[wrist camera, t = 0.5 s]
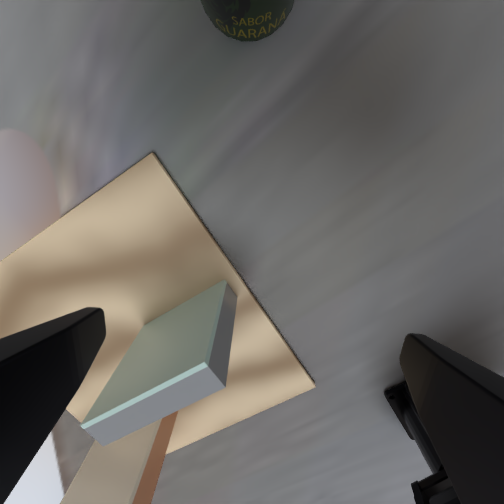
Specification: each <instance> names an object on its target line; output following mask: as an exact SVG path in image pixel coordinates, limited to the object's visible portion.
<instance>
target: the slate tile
mask: <svg viewBox="0 0 504 504" xmlns="http://www.w3.org/2000/svg"><path fill="white" fill-rule="evenodd" d="M237 298H238V297H237V296H236V294H235V293H234V291H233V290H232V289H231V287H230V286H229V284H228V283H227V282H226V280H225V279H224V280H222V281H221V282H219V283H217V284H215V285H214V286H212V287H210V288H208V289H207V290H205V291H203V292H201V293H200V294H198V295H196V296H194V297H193V298H191V299H189V300H187V301H186V302H184V303H182V304H180V305H179V306H177V307H175V308H173V309H172V310H170V311H168V312H166V313H165V314H163V315H161V316H159V317H158V318H156V319H154V320H152V321H151V322H149V323H147V324H145V325H144V326H143V327H142V328H141V330H140V332H139V333H138V335H137V336H136V338H135V340H134V341H133V343H132V344H131V346H130V347H129V349H128V351H127V352H126V354H125V355H124V357H123V359H122V360H121V362H120V363H119V365H118V366H117V368H116V370H115V371H114V373H113V374H112V376H111V377H110V379H109V381H108V382H107V384H106V385H105V387H104V389H103V390H102V392H101V393H100V395H99V396H98V398H97V400H96V401H95V403H94V404H93V406H92V408H91V409H90V411H89V412H88V414H87V415H86V417H85V419H84V420H83V422H82V423H81V425H80V426H81V427H82V428H83V429H84V430H85V431H86V432H88V433H89V434H90V435H91V436H92V437H93V438H94V439H95V440H96V441H98V442H99V443H100V444H101V445H102V446H105V445H108V444H110V443H112V442H114V441H116V440H118V439H120V438H122V437H124V436H126V435H128V434H130V433H132V432H134V431H137V430H139V429H141V428H143V427H145V426H147V425H149V424H151V423H153V422H155V421H157V420H159V419H161V418H164V417H166V416H168V415H170V414H172V413H174V412H176V411H178V410H180V409H182V408H184V407H186V406H188V405H190V404H193V403H195V402H197V401H199V400H201V399H203V398H205V397H207V396H209V395H211V394H213V393H215V392H217V391H219V390H222V389H224V388H226V381H227V374H228V366H229V358H230V351H231V343H232V336H233V328H234V320H235V313H236V305H237Z"/></svg>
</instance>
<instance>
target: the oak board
mask: <svg viewBox="0 0 504 504" xmlns="http://www.w3.org/2000/svg"><path fill="white" fill-rule="evenodd" d="M224 279H225V280H226V282H227V283H228V284H229V286H230V287H231V289H232V290H233V291H234V293H235V294H236V296H237V297H238V298H237V305H236V313H235V320H234V328H233V336H232V343H231V351H230V358H229V366H228V374H227V381H226V388H224V389H222V390H219V391H217V392H215V393H213V394H211V395H209V396H207V397H205V398H203V399H201V400H199V401H197V402H195V403H193V404H190V405H188V406H186V407H184V408H182V409H180V410H179V411H178V414H177V417H176V421H175V424H174V427H173V431H172V434H171V438H170V441H169V444H168V448H167V451H166V454H168V453H170V452H173V451H175V450H177V449H179V448H182V447H184V446H186V445H188V444H190V443H193V442H195V441H197V440H199V439H202V438H204V437H206V436H208V435H210V434H213V433H215V432H217V431H219V430H222V429H224V428H226V427H228V426H230V425H233V424H235V423H237V422H239V421H242V420H244V419H246V418H248V417H250V416H253V415H255V414H257V413H259V412H262V411H264V410H266V409H268V408H270V407H273V406H275V405H277V404H279V403H282V402H284V401H286V400H288V399H290V398H293V397H295V396H297V395H299V394H302V393H304V392H306V391H308V390H311V389H313V388H315V387H316V386H315V383H314V382H313V380H312V379H311V377H310V376H309V374H308V373H307V372H306V370H305V369H304V367H303V366H302V364H301V363H300V362H299V360H298V359H297V357H296V356H295V354H294V353H293V352H292V350H291V349H290V347H289V346H288V344H287V343H286V342H285V340H284V339H283V337H282V336H281V334H280V333H279V332H278V330H277V329H276V327H275V326H274V324H273V323H272V321H271V320H270V319H269V317H268V316H267V314H266V313H265V311H264V310H263V309H262V307H261V306H260V304H259V303H258V301H257V300H256V299H255V297H254V296H253V294H252V293H251V291H250V290H249V289H248V287H247V286H246V284H245V283H244V281H243V280H242V279H241V277H240V276H239V274H238V273H237V271H236V270H235V269H234V267H233V266H232V264H231V263H230V261H229V260H228V258H227V257H226V256H225V254H224V253H223V251H222V250H221V248H220V247H219V246H218V244H217V243H216V241H215V240H214V238H213V237H212V236H211V234H210V233H209V231H208V230H207V228H206V227H205V226H204V224H203V223H202V221H201V220H200V218H199V217H198V216H197V214H196V213H195V211H194V210H193V208H192V207H191V206H190V204H189V203H188V201H187V200H186V198H185V197H184V195H183V194H182V193H181V191H180V190H179V188H178V187H177V185H176V184H175V183H174V181H173V180H172V178H171V177H170V175H169V174H168V173H167V171H166V170H165V168H164V167H163V165H162V164H161V163H160V161H159V160H158V158H157V157H156V155H155V154H154V153H151V154H149V155H148V156H147V157H145V158H144V159H142V160H141V161H140V162H138V163H137V164H135V165H134V166H133V167H131V168H130V169H128V170H127V171H126V172H124V173H123V174H121V175H120V176H119V177H117V178H116V179H114V180H113V181H112V182H110V183H109V184H107V185H106V186H105V187H103V188H102V189H101V190H99V191H98V192H96V193H95V194H94V195H92V196H91V197H89V198H88V199H87V200H85V201H84V202H82V203H81V204H80V205H78V206H77V207H75V208H74V209H73V210H71V211H70V212H68V213H67V214H66V215H64V216H63V217H61V218H60V219H59V220H57V221H56V222H55V223H53V224H52V225H50V226H49V227H48V228H46V229H45V230H44V231H42V232H41V233H39V234H38V235H36V236H35V237H34V238H32V239H31V240H30V241H28V242H27V243H25V244H24V245H23V246H21V247H20V248H18V249H17V250H15V251H14V252H13V253H12V254H10V255H9V256H7V257H6V258H4V259H3V260H2V261H0V338H3V337H6V336H9V335H11V334H14V333H17V332H20V331H22V330H25V329H28V328H31V327H33V326H36V325H39V324H42V323H44V322H47V321H50V320H53V319H55V318H58V317H61V316H64V315H66V314H69V313H72V312H75V311H77V310H80V309H83V308H86V307H98V308H102V309H103V311H104V315H105V324H106V337H105V340H104V342H103V344H102V346H101V348H100V350H99V352H98V354H97V356H96V358H95V359H94V361H93V363H92V365H91V367H90V369H89V371H88V373H87V375H86V377H85V379H84V380H83V382H82V384H81V386H80V387H79V389H78V391H77V392H76V394H75V395H74V397H73V398H72V400H71V401H70V403H69V405H68V406H67V408H66V409H67V410H68V411H69V412H70V413H71V414H72V415H73V416H74V417H75V418H76V419H78V420H79V421H80V422H81V423H82V422H83V420H84V419H85V417H86V415H87V414H88V412H89V411H90V409H91V408H92V406H93V404H94V403H95V401H96V400H97V398H98V396H99V395H100V393H101V392H102V390H103V389H104V387H105V385H106V384H107V382H108V381H109V379H110V377H111V376H112V374H113V373H114V371H115V370H116V368H117V366H118V365H119V363H120V362H121V360H122V359H123V357H124V355H125V354H126V352H127V351H128V349H129V347H130V346H131V344H132V343H133V341H134V340H135V338H136V336H137V335H138V333H139V332H140V330H141V328H142V327H143V326H144V325H145V324H147V323H149V322H151V321H152V320H154V319H156V318H158V317H159V316H161V315H163V314H165V313H166V312H168V311H170V310H172V309H173V308H175V307H177V306H179V305H180V304H182V303H184V302H186V301H187V300H189V299H191V298H193V297H194V296H196V295H198V294H200V293H201V292H203V291H205V290H207V289H208V288H210V287H212V286H214V285H215V284H217V283H219V282H221V281H222V280H224ZM166 454H165V455H166Z"/></svg>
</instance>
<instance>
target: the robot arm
mask: <svg viewBox="0 0 504 504" xmlns="http://www.w3.org/2000/svg"><path fill="white" fill-rule="evenodd" d="M105 337H106V324H105V315H104V311H103V309H102V308H98V307H86V308H83V309H80V310H77V311H75V312H72V313H69V314H66V315H64V316H61V317H58V318H55V319H53V320H50V321H47V322H44V323H42V324H39V325H36V326H33V327H31V328H28V329H25V330H22V331H20V332H17V333H14V334H11V335H9V336H6V337H3V338H0V504H4V502H5V500H6V499H7V498H8V496H9V495H10V493H11V491H12V490H13V488H14V487H15V485H16V484H17V482H18V481H19V479H20V478H21V476H22V475H23V473H24V472H25V470H26V469H27V467H28V466H29V464H30V462H31V461H32V459H33V458H34V456H35V455H36V453H37V452H38V450H39V449H40V447H41V446H42V444H43V443H44V441H45V440H46V438H47V437H48V435H49V433H50V432H51V430H52V429H53V427H54V426H55V424H56V423H57V421H58V420H59V418H60V417H61V415H62V414H63V412H64V411H65V409H66V408H67V406H68V405H69V403H70V401H71V400H72V398H73V397H74V395H75V394H76V392H77V391H78V389H79V387H80V386H81V384H82V382H83V380H84V379H85V377H86V375H87V373H88V371H89V369H90V367H91V365H92V363H93V361H94V359H95V358H96V356H97V354H98V352H99V350H100V348H101V346H102V344H103V342H104V340H105ZM400 365H401V368H402V371H403V373H404V376H405V379H406V382H405V383H403V384H401V385H398V386H396V387H393V388H391V389H389V390H387V391H386V392H385V394H384V395H385V397H386V399H387V401H388V402H389V404H390V406H391V407H392V409H393V411H394V412H395V414H396V416H397V417H398V419H399V421H400V422H401V424H402V426H403V427H404V429H405V430H406V432H407V434H408V435H409V437H410V438H411V439H412V440H415V441H416V443H417V445H418V447H419V449H420V451H421V452H422V454H423V456H424V458H425V460H426V462H427V464H428V466H429V467H430V469H431V471H432V473H433V474H432V475H430V476H428V477H427V478H425V479H423V480H421V481H419V482H418V481H415V482H413V483H411V486H412V490H413V493H414V499H415V502H416V504H504V377H502V376H500V375H498V374H496V373H494V372H492V371H491V370H489V369H487V368H485V367H483V366H481V365H479V364H477V363H476V362H474V361H472V360H470V359H468V358H466V357H464V356H463V355H461V354H459V353H457V352H455V351H453V350H451V349H449V348H448V347H446V346H444V345H442V344H440V343H438V342H436V341H435V340H433V339H431V338H429V337H427V336H425V335H423V334H413V333H409V334H408V335H407V336H406V338H405V341H404V344H403V347H402V351H401V354H400Z"/></svg>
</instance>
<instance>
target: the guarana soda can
mask: <svg viewBox="0 0 504 504" xmlns="http://www.w3.org/2000/svg"><path fill="white" fill-rule="evenodd" d="M201 2H202V5H203V7H204V10H205V12H206V14H207V15H208V17H209V18H210V20H211V21H212V23H213V24H214V26H215V27H216V28H218V29H219V30H220V31H221V32H223V33H224V34H225V35H226V36H228V37H230V38H233V39H236V40H239V41H257V40H260V39H262V38H264V37H267V36H269V35H271V34H272V33H273V32H274V31H275V30H277V29H278V28H279V27H280V26H281V25H282V24H283V23H284V21H285V19H286V18H287V16H288V14H289V13H290V11H291V9H292V7H293V3H294V0H201Z"/></svg>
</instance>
